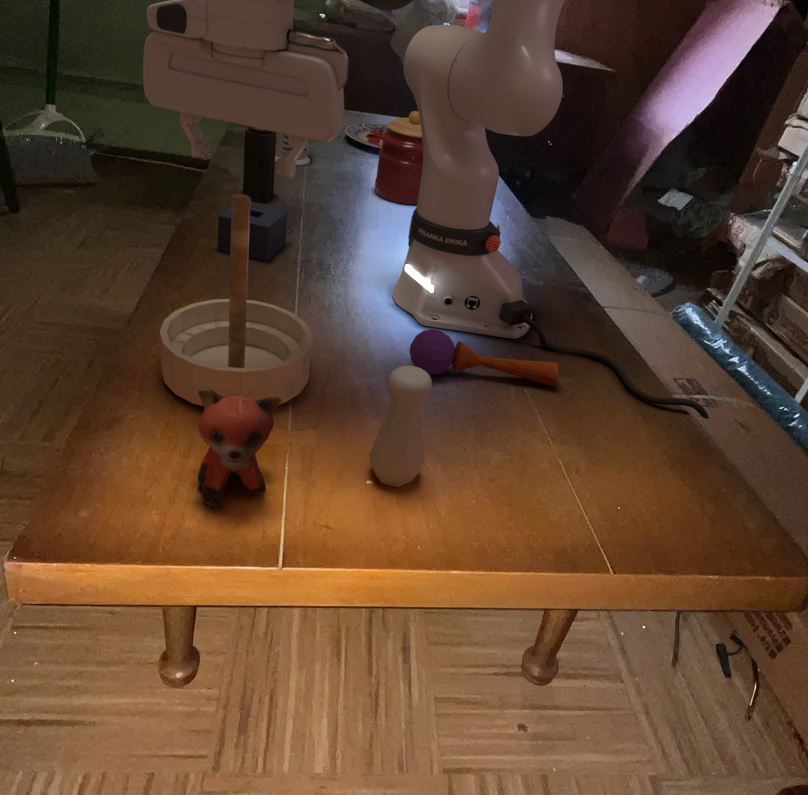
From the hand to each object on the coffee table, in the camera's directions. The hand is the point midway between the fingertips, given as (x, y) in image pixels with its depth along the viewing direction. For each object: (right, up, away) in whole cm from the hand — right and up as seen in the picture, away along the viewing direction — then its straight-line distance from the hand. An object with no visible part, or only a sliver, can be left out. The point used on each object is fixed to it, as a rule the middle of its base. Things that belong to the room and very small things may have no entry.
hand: (243, 167), depth 77 cm
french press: (-9, +32, +94) cm, 99 cm away
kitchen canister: (+17, +20, +83) cm, 87 cm away
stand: (-9, +1, +47) cm, 48 cm away
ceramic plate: (+14, +42, +117) cm, 125 cm away
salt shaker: (+16, -33, +2) cm, 36 cm away
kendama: (+27, -22, +22) cm, 41 cm away
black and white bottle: (-12, +15, +68) cm, 71 cm away
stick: (-4, -21, +13) cm, 25 cm away
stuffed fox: (0, -33, -2) cm, 33 cm away
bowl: (-4, -21, +14) cm, 26 cm away
